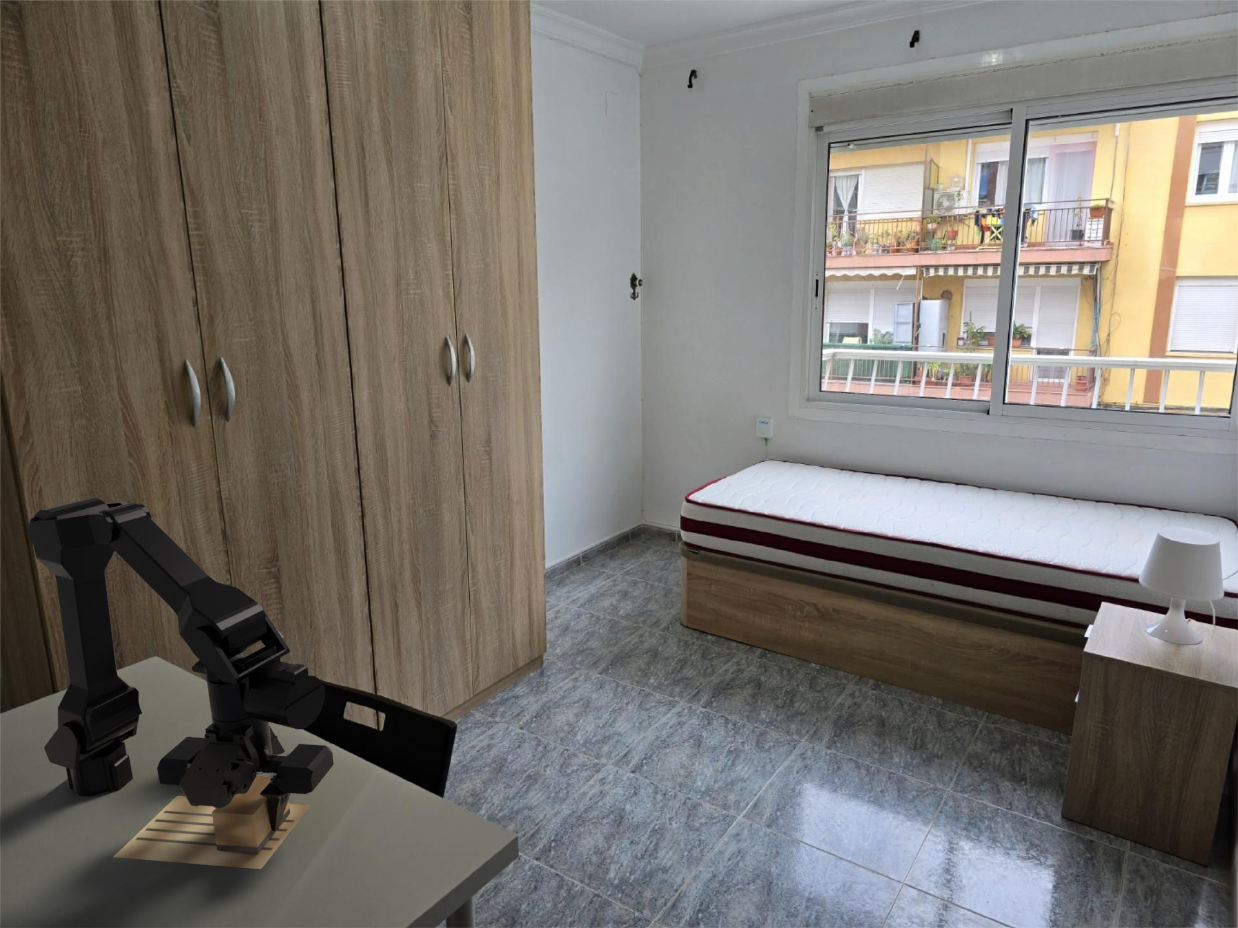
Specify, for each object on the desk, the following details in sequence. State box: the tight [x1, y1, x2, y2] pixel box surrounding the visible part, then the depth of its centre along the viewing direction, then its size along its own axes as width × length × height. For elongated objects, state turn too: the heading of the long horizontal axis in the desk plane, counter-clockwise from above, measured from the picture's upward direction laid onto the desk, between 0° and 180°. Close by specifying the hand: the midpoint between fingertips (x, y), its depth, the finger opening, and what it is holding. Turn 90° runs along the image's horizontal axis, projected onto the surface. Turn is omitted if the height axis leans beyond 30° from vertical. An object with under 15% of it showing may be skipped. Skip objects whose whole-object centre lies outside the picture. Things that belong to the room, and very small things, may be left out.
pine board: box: [113, 795, 311, 870], centre depth 93 cm, size 18×11×1 cm, turn 83°
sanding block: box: [212, 775, 290, 853], centre depth 92 cm, size 5×7×5 cm
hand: (254, 827), depth 92 cm, fingers closed on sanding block, 5 cm apart
